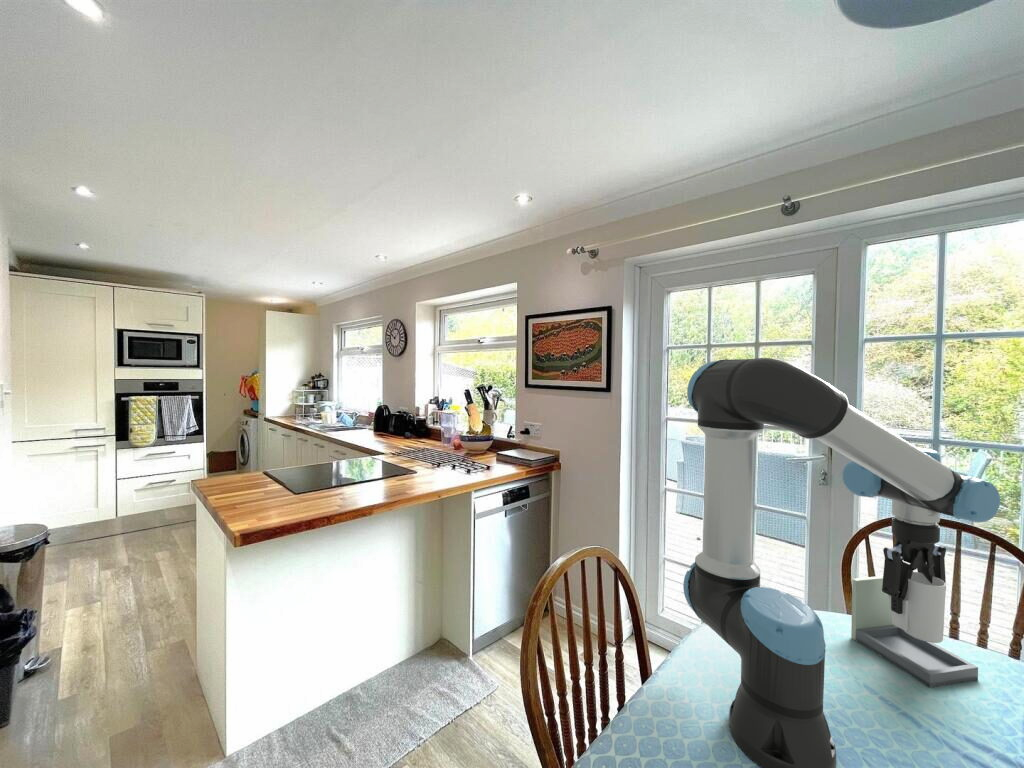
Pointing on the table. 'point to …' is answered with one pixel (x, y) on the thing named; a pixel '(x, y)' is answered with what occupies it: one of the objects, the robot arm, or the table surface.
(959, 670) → the mug holder
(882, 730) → the table surface
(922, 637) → the mug
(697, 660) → the table surface
